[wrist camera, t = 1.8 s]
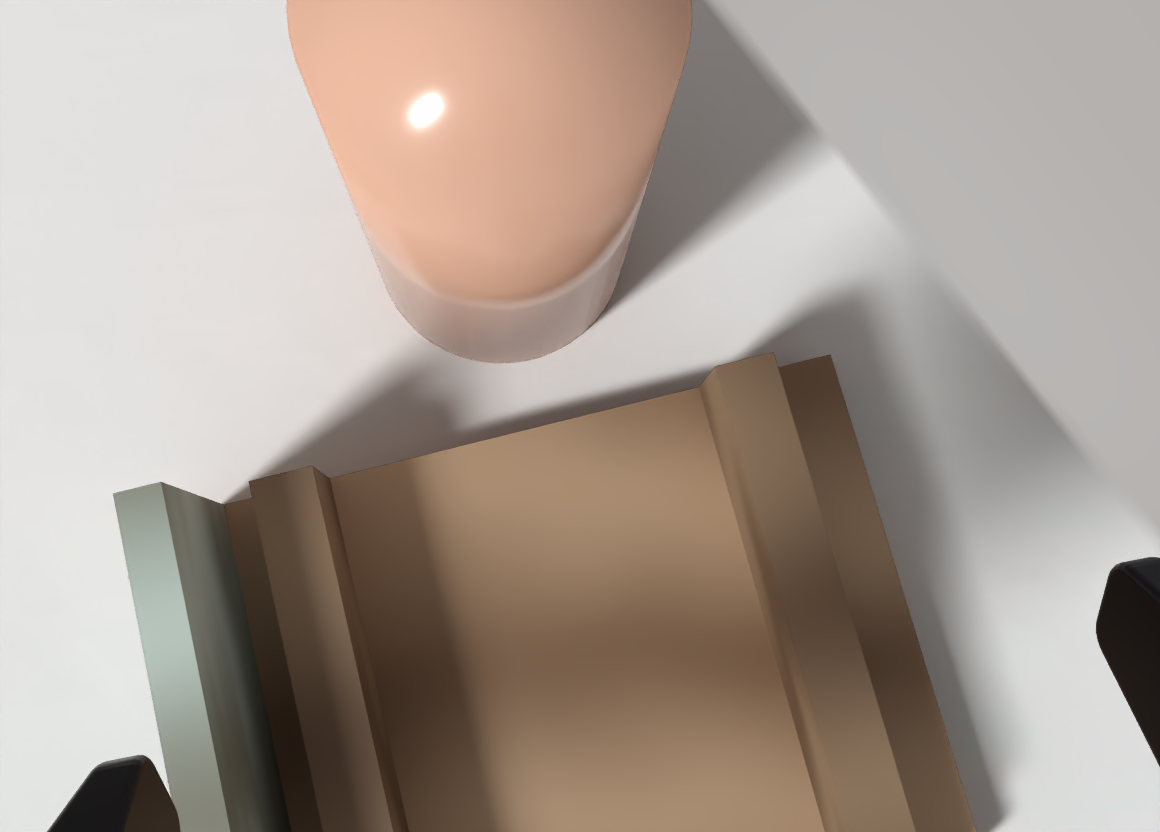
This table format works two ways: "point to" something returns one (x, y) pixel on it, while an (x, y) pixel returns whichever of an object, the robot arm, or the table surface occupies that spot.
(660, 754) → the walnut shelf
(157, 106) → the table surface
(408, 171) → the peach pink cylinder
